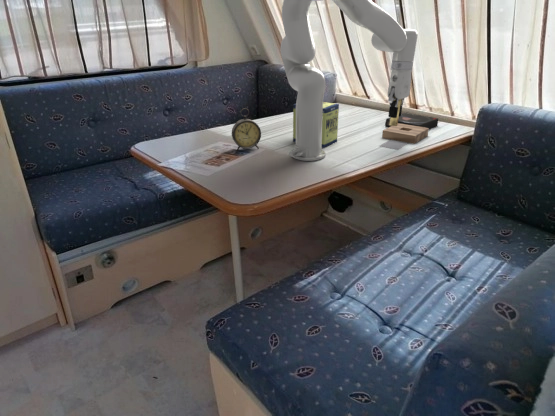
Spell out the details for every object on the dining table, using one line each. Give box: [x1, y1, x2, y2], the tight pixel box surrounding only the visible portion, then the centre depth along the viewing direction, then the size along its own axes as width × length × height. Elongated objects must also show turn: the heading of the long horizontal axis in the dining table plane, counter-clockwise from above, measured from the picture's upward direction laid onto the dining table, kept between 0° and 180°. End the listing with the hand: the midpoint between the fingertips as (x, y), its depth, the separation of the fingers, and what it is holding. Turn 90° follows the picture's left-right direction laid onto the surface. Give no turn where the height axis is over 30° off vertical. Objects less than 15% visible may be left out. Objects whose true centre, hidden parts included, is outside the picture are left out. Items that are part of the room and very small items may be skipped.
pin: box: [389, 97, 401, 126], centre depth 155 cm, size 3×3×12 cm
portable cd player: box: [384, 112, 439, 130], centre depth 186 cm, size 16×17×4 cm
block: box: [381, 123, 430, 145], centre depth 171 cm, size 14×14×4 cm
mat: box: [379, 139, 410, 151], centre depth 162 cm, size 10×8×1 cm
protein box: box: [292, 101, 340, 149], centre depth 165 cm, size 10×16×16 cm
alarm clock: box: [231, 107, 262, 152], centre depth 158 cm, size 11×5×16 cm, turn 105°
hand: (394, 116), depth 157 cm, fingers closed on pin, 3 cm apart
